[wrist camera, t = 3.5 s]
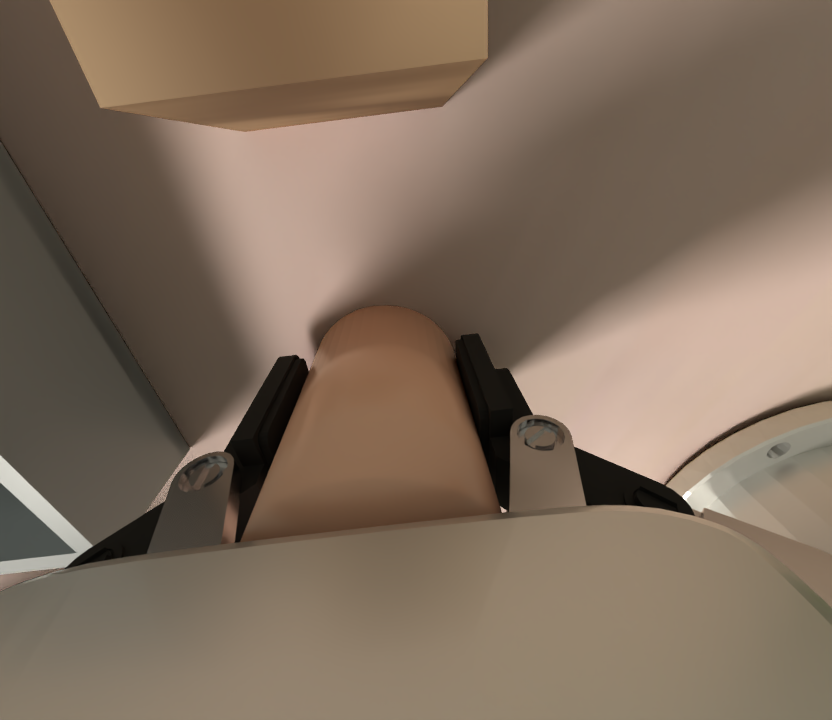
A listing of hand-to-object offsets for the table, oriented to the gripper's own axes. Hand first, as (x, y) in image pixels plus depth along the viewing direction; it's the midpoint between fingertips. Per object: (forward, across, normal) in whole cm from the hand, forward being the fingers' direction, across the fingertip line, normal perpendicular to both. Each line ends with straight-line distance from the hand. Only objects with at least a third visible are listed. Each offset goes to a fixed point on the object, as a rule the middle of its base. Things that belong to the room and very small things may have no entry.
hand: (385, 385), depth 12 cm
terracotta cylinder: (+1, 0, 0) cm, 1 cm away
